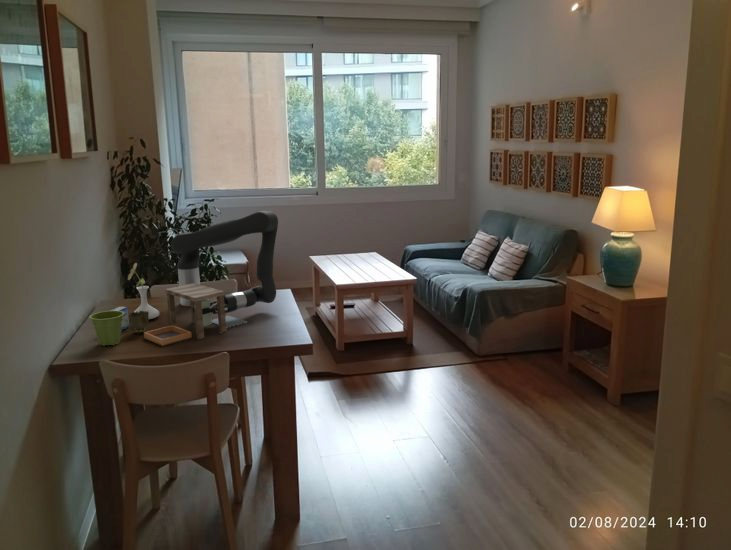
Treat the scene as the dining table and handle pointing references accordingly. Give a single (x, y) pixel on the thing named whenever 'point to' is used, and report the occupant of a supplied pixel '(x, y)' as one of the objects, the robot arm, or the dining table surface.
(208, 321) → the sage block
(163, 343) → the shallow orange tray
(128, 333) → the dining table surface
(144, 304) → the flower in vase
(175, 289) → the walnut table
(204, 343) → the dining table surface
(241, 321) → the slate mat
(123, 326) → the medicine box
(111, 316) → the plant pot
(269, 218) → the robot arm
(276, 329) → the dining table surface
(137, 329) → the cup
